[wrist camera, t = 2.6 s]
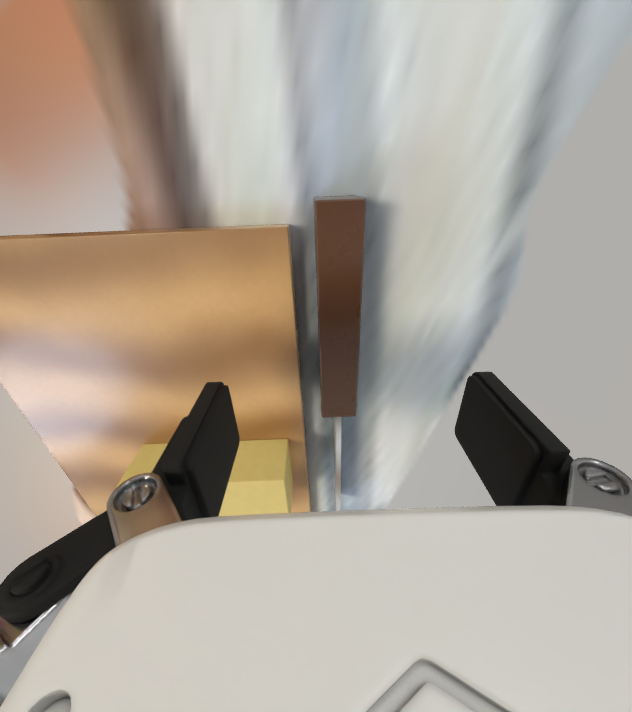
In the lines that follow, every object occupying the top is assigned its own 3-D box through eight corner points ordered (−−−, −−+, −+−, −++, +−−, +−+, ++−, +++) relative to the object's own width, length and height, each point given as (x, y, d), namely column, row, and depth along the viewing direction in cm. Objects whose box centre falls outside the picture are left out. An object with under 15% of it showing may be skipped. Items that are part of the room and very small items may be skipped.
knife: (313, 196, 12) (314, 200, 10) (356, 194, 12) (366, 198, 10) (324, 492, 23) (325, 527, 20) (347, 491, 23) (351, 526, 20)
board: (-74, 238, 13) (-101, 242, 12) (289, 223, 13) (287, 226, 12) (116, 523, 24) (109, 535, 23) (311, 516, 24) (311, 528, 23)
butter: (191, 441, 18) (171, 484, 16) (288, 438, 18) (284, 480, 16) (205, 483, 20) (190, 527, 18) (293, 480, 20) (290, 523, 18)
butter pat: (142, 443, 18) (115, 486, 16) (175, 442, 18) (152, 485, 16) (162, 484, 20) (140, 529, 18) (191, 483, 20) (174, 527, 18)
